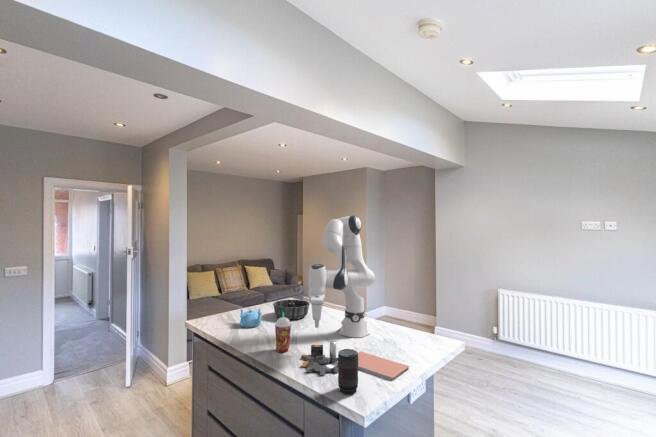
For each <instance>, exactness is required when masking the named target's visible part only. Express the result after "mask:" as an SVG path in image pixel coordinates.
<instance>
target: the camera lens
mask: <svg viewBox="0 0 656 437" xmlns="http://www.w3.org/2000/svg"><path fill="white" fill-rule="evenodd" d="M358 352H359V351H357V350H355V349H353V348H352V349H351V348H344V349H343V348H342V349H341V350H339V351H338V354H337V358H338V361H337V362H338V369H339V370H338V372H337V375H338V376H337V382H338V383H337V384H338V388H339V392H340V393H341V394H344V395H350V396H351V395H354V394H356V393H357V391H358V390H357V389H358V386H359V385H358V384H359V369H358Z"/></svg>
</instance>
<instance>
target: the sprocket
mask: <svg viewBox="0 0 656 437" xmlns="http://www.w3.org/2000/svg"><path fill="white" fill-rule="evenodd" d="M302 367H303V368H306V369H305V370H306V372H307V373H309V374H310V373H313V372H314V373H319V376H326V374H327V373H331V372H332V373H334V374H338V370H339V369H338V357H337V341H335V340H330V341H329V357H326V355H324V354H323V355H321V357H311V356H310V357H309V358H308V361H303V362H302Z"/></svg>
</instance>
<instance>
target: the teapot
mask: <svg viewBox="0 0 656 437" xmlns="http://www.w3.org/2000/svg"><path fill="white" fill-rule="evenodd" d="M262 309H263V307H260V308H258V310H257V311H255V310H254V309H248V310H247V311H244V310H243V308H242V307H241V308H240V307H239V310H240V321H239V326H241V327H242V328H247V329H250V328H251V329H252V328H257V327H258V326H259V325H261V320H262V317H261V315H262V311H261V310H262Z"/></svg>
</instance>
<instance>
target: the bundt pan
mask: <svg viewBox="0 0 656 437" xmlns="http://www.w3.org/2000/svg"><path fill="white" fill-rule="evenodd" d="M272 305H273V310H274V315H275V316H276V317H277V318H278V319H279V318H281V317H283V312H284V317H286V318H288V319H289V321H290V320H293V321H294V320H299V319H304V318H305V317H306V316H307V315H308V313H309V309H310V305H311V304H310V301H307V300H302V299H281V300H275V301H274V302H273V304H272Z"/></svg>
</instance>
